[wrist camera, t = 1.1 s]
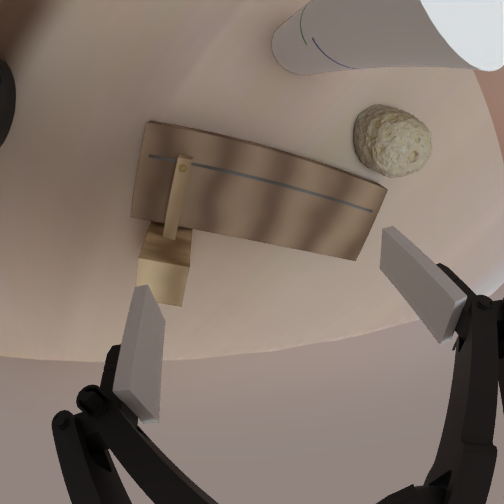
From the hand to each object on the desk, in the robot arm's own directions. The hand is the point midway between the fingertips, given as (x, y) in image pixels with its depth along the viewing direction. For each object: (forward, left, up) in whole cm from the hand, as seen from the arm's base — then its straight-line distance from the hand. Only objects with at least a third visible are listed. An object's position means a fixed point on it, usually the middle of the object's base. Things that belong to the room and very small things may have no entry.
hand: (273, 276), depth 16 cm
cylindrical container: (+3, +17, -22) cm, 28 cm away
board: (+4, -2, -21) cm, 22 cm away
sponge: (+17, +10, -22) cm, 29 cm away
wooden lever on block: (-6, -6, -21) cm, 23 cm away
